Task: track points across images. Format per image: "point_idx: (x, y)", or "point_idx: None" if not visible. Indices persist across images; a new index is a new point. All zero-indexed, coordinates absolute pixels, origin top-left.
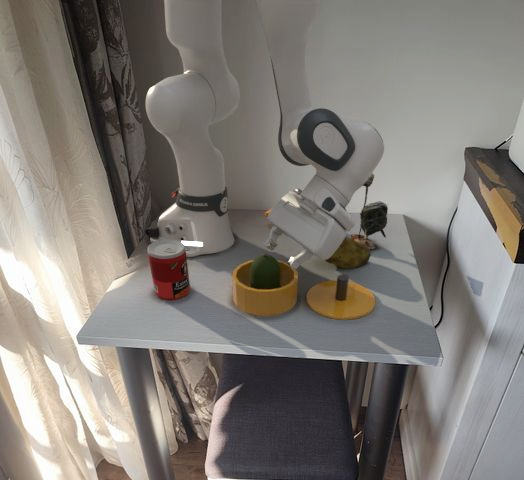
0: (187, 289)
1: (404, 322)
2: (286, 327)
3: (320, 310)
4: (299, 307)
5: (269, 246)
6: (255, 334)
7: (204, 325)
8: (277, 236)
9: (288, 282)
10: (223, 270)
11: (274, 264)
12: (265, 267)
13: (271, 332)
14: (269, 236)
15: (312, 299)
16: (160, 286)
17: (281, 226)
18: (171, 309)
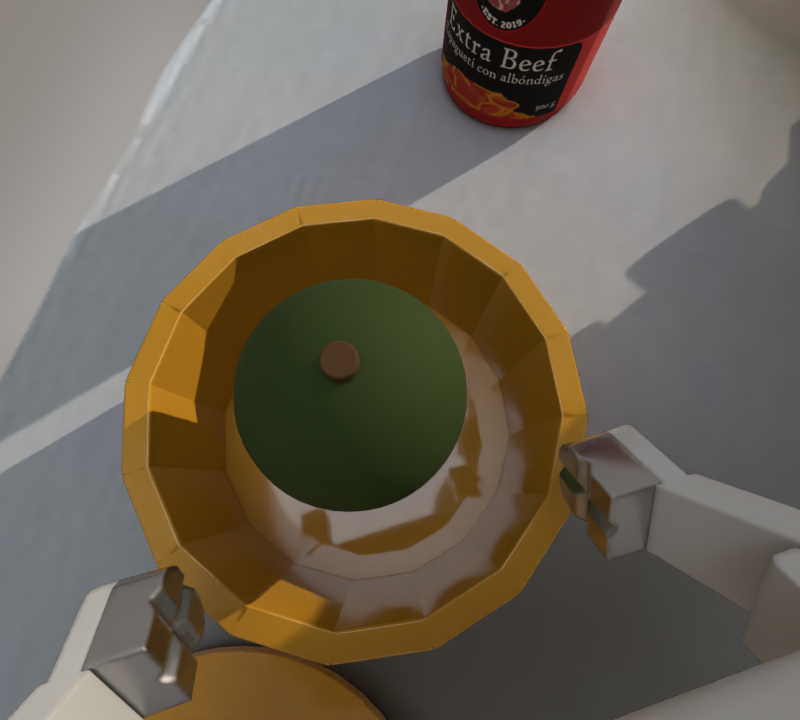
0: (478, 95)
1: None
2: (113, 472)
3: None
4: None
5: (570, 461)
6: (117, 326)
7: (249, 155)
8: (742, 597)
9: (421, 579)
10: (679, 282)
11: (263, 443)
12: (246, 357)
13: (103, 395)
14: (708, 481)
15: (253, 690)
16: None
17: (776, 715)
18: (389, 64)
